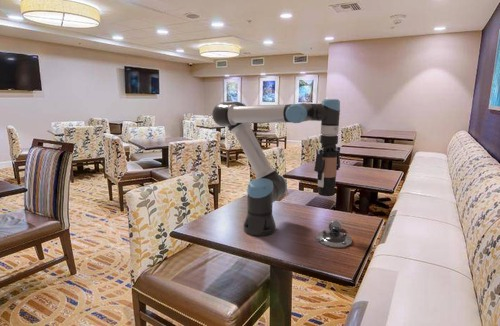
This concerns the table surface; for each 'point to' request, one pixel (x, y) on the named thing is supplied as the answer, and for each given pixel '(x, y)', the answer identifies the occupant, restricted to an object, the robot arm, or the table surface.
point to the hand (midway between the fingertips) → (326, 185)
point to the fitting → (334, 236)
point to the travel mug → (329, 174)
